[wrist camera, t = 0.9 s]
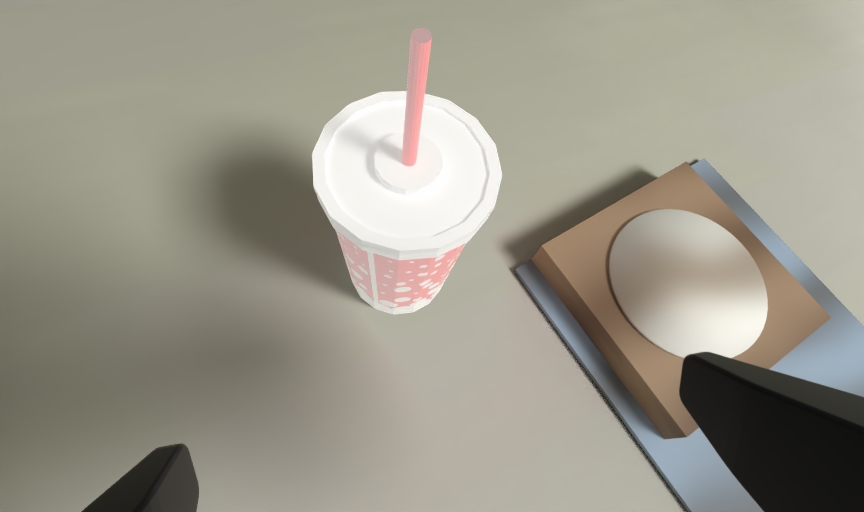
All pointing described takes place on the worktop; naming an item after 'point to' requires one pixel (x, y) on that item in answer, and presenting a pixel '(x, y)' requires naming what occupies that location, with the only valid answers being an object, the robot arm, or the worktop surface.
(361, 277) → the beverage cup
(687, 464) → the blueprint plinth
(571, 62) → the worktop surface
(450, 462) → the worktop surface
